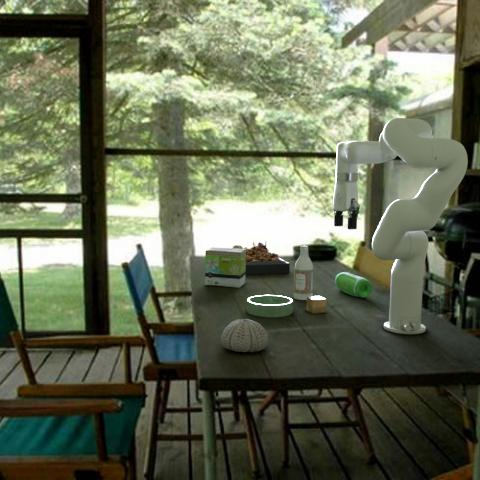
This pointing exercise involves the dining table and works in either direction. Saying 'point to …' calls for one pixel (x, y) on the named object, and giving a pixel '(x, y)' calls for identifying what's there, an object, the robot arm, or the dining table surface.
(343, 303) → the dining table surface
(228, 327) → the sea urchin shell
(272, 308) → the bowl
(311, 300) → the maple cube
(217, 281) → the tea box
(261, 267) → the food platter
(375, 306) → the dining table surface
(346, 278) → the speaker
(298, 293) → the bath foam
